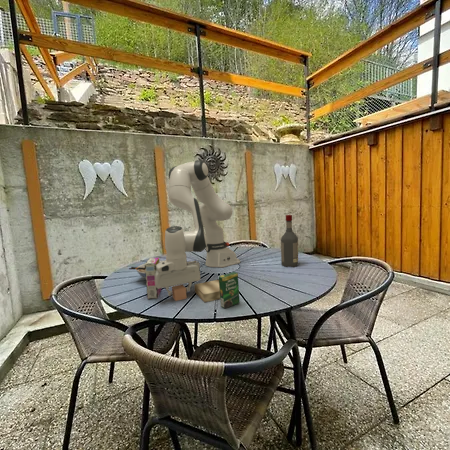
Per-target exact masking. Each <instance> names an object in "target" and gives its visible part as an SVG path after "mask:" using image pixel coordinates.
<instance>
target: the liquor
mask: <svg viewBox="0 0 450 450" xmlns="http://www.w3.org/2000/svg"><path fill="white" fill-rule="evenodd" d="M292 221H293V215H292V214H286V215H285V226H286V228H285V232H284V233H283V235H282V236H281V238H280V256H281V257H280V261H281V262H280V263H281V266H282V267H285V268H296V267H297V266H298V264H299V237H298V236H297V234H296V233H295V232H294V230H293V223H292Z"/></svg>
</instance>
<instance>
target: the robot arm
mask: <svg viewBox="0 0 450 450" xmlns="http://www.w3.org/2000/svg"><path fill="white" fill-rule="evenodd" d="M168 180H169V181H168V193H167V194H168V199H169V201H170V203H171V204H172V205H173V206H174V207H176V208H179V209H180V210H181V209H182V210H185V211H188V212H190V214H191V215H192V219H193V225H194V230H185V231H184V227H183V226H179V225H178V226H177V225H176V226H175V225H173V226H170V227H168V228H166V229H165V232H164V249H165V252H166V256H165V260H162V261H163V262H161V263H159V264H157V265H156V269H157V271H156V272H155V286H156V288H158V289H160V288H161V289H165V290H166V292H167V294H168V296H169V297H173V294H172V290H169V289H170V287H173V286H177V285H182V284H183V285H185V284H188V285H187V287H186V286H185V288H186V293H190V292H191V287H192V285H193V283H194V282H199V281H200V280H201V270H200V267H201V266H200V265H201V264H200V262H199V261H198V260H191V261H188V260H187V259H188V258H187V253H186V252H189V253H190V252H194V253H196V252H197V253H201V252H203V251H204V250H206V256H205V258H206V260H205V264H204V265H205V266H206V267H210V268H226V267H230V266H233V265H237V264H240V263H241V259H239V258H238V257H237V255H236V253H235V251H233V250H232V249H230V248H229V246H230V243H229V242H227V241H225V239H224V230H223V228H222V227H221V226H220V225H219V224H218V223H217V222H218V221H219V222H222V221H228V220H230V219H231V217H232V216H233V208H232V206H231V205H230V204H229V203H227V202H226V201H224V200H223V199H222V198H221V197H219V195H218V194H217V193H216V191H215V189H214V188H213V185H212V183H211V180H210V178H209V167H208V165H207V163H206V162H205V161H204V160H199V159H198V160H195V161H188V162H185V163H182V164H179V165H176V166H172V167H171V168H170V169H169V171H168ZM192 190H193V193H194V194H195V195H194V196H196V198H197V199H196V198H195V197H194V196H193V194H192ZM199 202H200V204H199ZM227 246H228V247H227Z"/></svg>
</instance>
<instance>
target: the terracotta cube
mask: <svg viewBox="0 0 450 450" xmlns="http://www.w3.org/2000/svg"><path fill="white" fill-rule="evenodd" d="M171 291H172V298H173V299H174V301H175V302H177V301H181V300H185V299H187V292H186V286H185V284H179V285H175V286H171Z"/></svg>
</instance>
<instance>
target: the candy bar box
mask: <svg viewBox="0 0 450 450" xmlns="http://www.w3.org/2000/svg"><path fill="white" fill-rule="evenodd" d="M159 261H160V257H151V258H150V257H149V258H148V260H147V261H146V262H145V263H144V264H145V274H146V278H145V284H146V297H147V300H156V299H159V296H160V294H161V292H162V289H163V288H160V289H158V288H156V286H155V272H156V271H157V269H156V265H157V264H159V263H160V262H159Z"/></svg>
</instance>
